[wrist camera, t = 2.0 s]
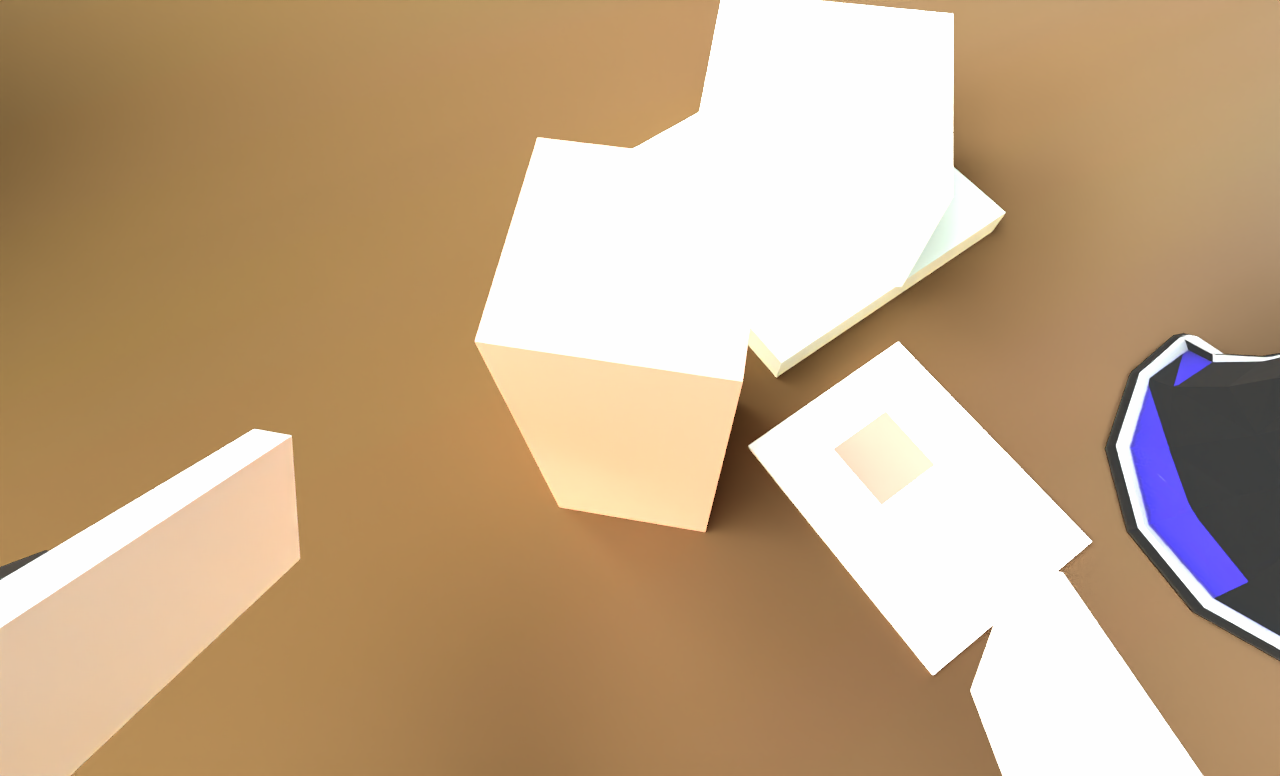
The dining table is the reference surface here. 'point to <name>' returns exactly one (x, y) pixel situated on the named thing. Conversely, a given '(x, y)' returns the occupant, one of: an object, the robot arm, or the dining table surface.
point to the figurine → (1206, 480)
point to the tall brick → (627, 323)
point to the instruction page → (916, 502)
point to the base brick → (836, 129)
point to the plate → (826, 307)
